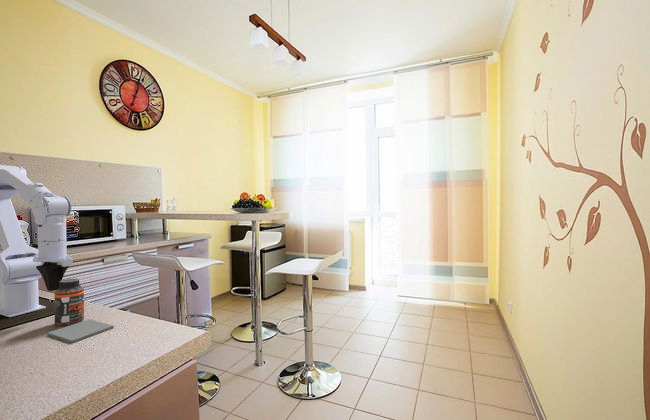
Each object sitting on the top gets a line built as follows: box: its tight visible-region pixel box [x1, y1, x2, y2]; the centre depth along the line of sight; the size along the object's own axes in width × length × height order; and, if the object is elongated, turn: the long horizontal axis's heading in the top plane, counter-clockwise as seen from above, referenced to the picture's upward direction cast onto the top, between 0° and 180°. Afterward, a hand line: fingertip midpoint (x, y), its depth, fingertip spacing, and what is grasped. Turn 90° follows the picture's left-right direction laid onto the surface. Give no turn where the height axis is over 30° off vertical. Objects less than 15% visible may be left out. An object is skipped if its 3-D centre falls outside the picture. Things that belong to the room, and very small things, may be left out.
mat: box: [47, 319, 115, 344], centre depth 73 cm, size 10×9×1 cm
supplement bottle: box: [54, 278, 85, 327], centre depth 79 cm, size 6×6×11 cm
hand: (53, 290), depth 81 cm, fingers closed
